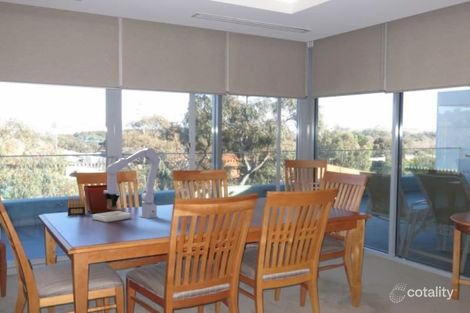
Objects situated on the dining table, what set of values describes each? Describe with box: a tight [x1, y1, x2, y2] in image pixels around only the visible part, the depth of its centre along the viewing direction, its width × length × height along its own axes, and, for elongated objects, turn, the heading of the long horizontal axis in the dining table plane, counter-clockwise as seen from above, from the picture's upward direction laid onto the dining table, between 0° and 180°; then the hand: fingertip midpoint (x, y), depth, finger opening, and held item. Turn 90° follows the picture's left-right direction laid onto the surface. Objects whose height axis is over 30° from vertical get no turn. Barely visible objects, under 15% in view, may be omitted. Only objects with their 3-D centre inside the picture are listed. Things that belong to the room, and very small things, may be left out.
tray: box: [92, 210, 132, 223], centre depth 281 cm, size 14×18×3 cm
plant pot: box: [83, 184, 113, 213], centre depth 309 cm, size 19×19×17 cm
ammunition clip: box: [67, 195, 86, 216], centre depth 293 cm, size 11×2×12 cm, turn 110°
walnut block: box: [107, 199, 118, 210], centre depth 281 cm, size 4×4×6 cm
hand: (111, 206), depth 281 cm, fingers closed on walnut block, 4 cm apart
